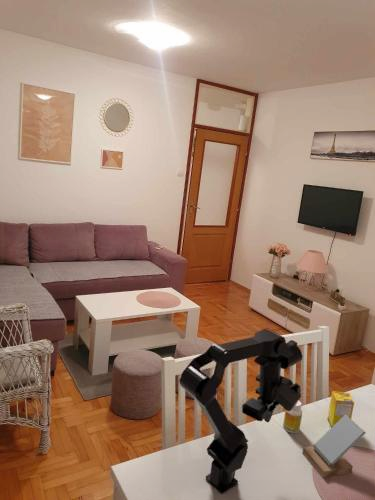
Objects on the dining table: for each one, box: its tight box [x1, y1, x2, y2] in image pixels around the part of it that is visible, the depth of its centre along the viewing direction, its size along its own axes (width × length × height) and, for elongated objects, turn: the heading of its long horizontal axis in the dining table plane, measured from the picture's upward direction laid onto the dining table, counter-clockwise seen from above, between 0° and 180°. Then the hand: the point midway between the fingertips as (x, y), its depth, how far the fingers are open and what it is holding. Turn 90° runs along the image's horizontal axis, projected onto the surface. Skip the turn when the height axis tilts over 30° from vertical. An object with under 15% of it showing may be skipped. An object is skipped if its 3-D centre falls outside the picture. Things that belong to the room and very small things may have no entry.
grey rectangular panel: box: [312, 414, 366, 467], centre depth 117 cm, size 1×8×14 cm
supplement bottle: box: [282, 399, 303, 434], centre depth 131 cm, size 5×5×10 cm
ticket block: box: [302, 445, 353, 479], centre depth 117 cm, size 10×10×2 cm
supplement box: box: [327, 390, 355, 429], centre depth 135 cm, size 6×6×11 cm
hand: (267, 421), depth 113 cm, fingers closed
